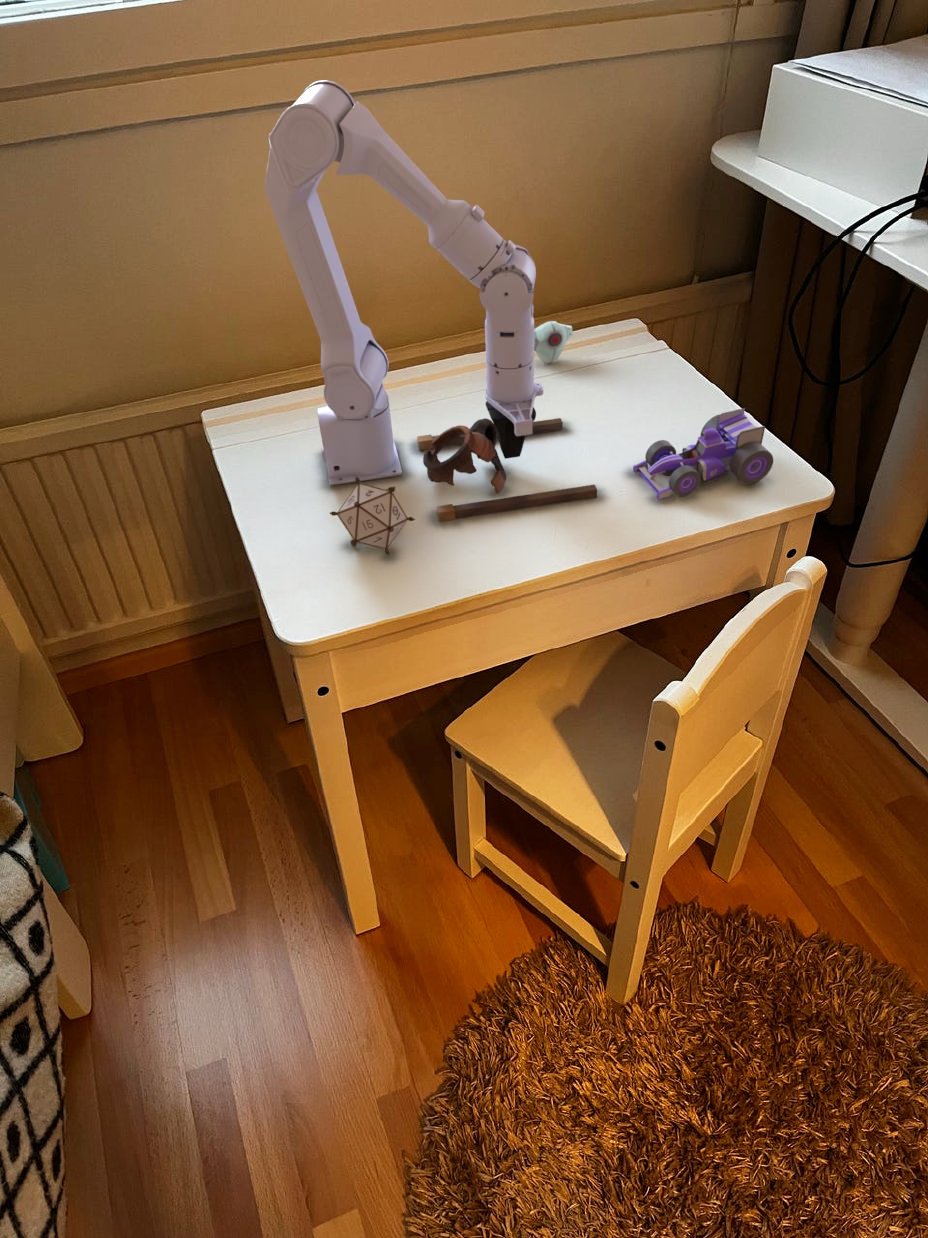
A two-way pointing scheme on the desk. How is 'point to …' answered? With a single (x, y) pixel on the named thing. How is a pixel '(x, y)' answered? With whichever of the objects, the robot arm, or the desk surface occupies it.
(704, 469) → the toy race car
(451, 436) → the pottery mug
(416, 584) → the desk surface
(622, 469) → the desk surface
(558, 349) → the robot head
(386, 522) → the game die
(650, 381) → the desk surface
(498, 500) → the walnut slot
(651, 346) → the desk surface
